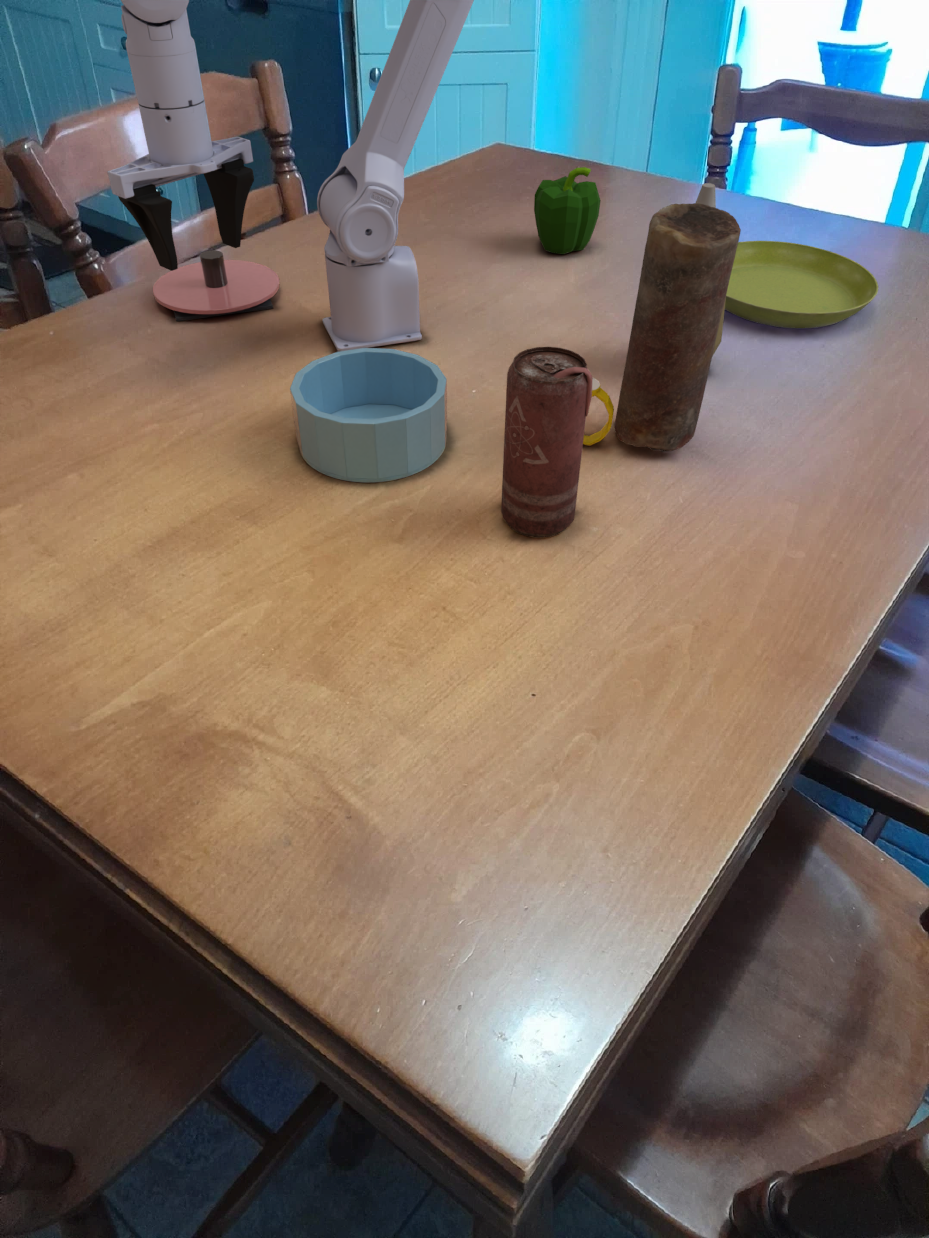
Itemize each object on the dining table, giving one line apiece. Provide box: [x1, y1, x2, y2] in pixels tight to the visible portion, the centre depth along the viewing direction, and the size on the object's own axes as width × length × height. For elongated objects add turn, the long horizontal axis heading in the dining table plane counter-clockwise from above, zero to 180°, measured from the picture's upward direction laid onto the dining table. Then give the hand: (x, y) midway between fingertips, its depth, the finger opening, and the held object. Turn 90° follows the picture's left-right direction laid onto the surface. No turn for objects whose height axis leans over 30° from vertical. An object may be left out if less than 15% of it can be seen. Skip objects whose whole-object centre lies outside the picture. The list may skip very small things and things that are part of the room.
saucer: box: [725, 240, 879, 329], centre depth 106 cm, size 21×21×3 cm
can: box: [500, 346, 594, 539], centre depth 70 cm, size 6×6×14 cm
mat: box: [173, 298, 274, 322], centre depth 107 cm, size 11×11×1 cm
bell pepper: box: [533, 166, 602, 255], centre depth 115 cm, size 8×8×10 cm
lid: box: [152, 249, 281, 314], centre depth 105 cm, size 15×15×4 cm
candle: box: [613, 202, 742, 452], centre depth 77 cm, size 8×7×20 cm
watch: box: [583, 377, 615, 447], centre depth 82 cm, size 6×3×6 cm, turn 79°
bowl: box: [289, 347, 448, 483], centre depth 82 cm, size 14×14×6 cm
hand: (200, 256), depth 89 cm, fingers open, 7 cm apart
